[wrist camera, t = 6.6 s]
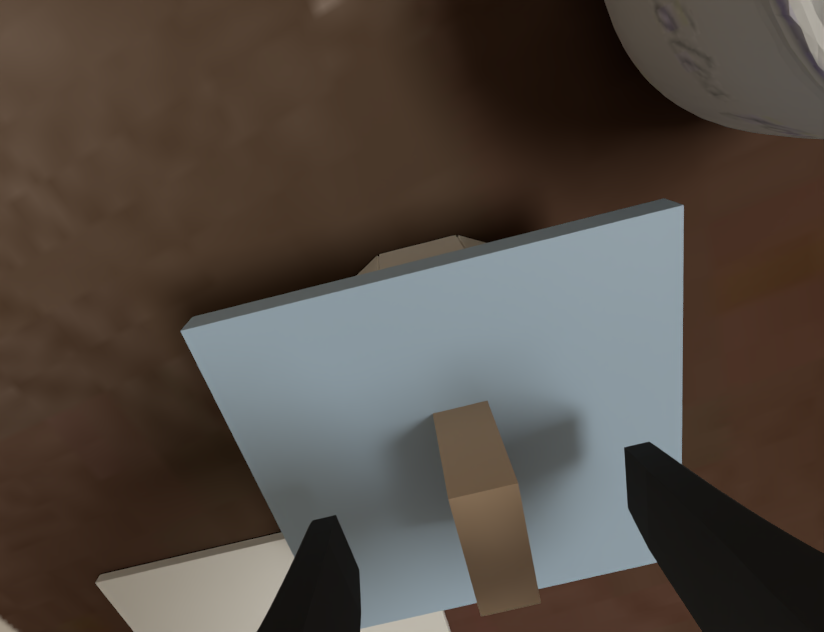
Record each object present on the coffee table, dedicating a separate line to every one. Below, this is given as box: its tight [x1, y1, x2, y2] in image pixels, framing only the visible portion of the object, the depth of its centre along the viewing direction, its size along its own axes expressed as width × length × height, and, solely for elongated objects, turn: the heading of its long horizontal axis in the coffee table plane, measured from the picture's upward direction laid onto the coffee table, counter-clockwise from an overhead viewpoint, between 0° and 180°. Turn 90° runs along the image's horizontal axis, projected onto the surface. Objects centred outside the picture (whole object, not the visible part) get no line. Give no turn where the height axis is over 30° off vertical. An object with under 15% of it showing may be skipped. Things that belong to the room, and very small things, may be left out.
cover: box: [181, 199, 684, 629], centre depth 12 cm, size 12×12×4 cm
